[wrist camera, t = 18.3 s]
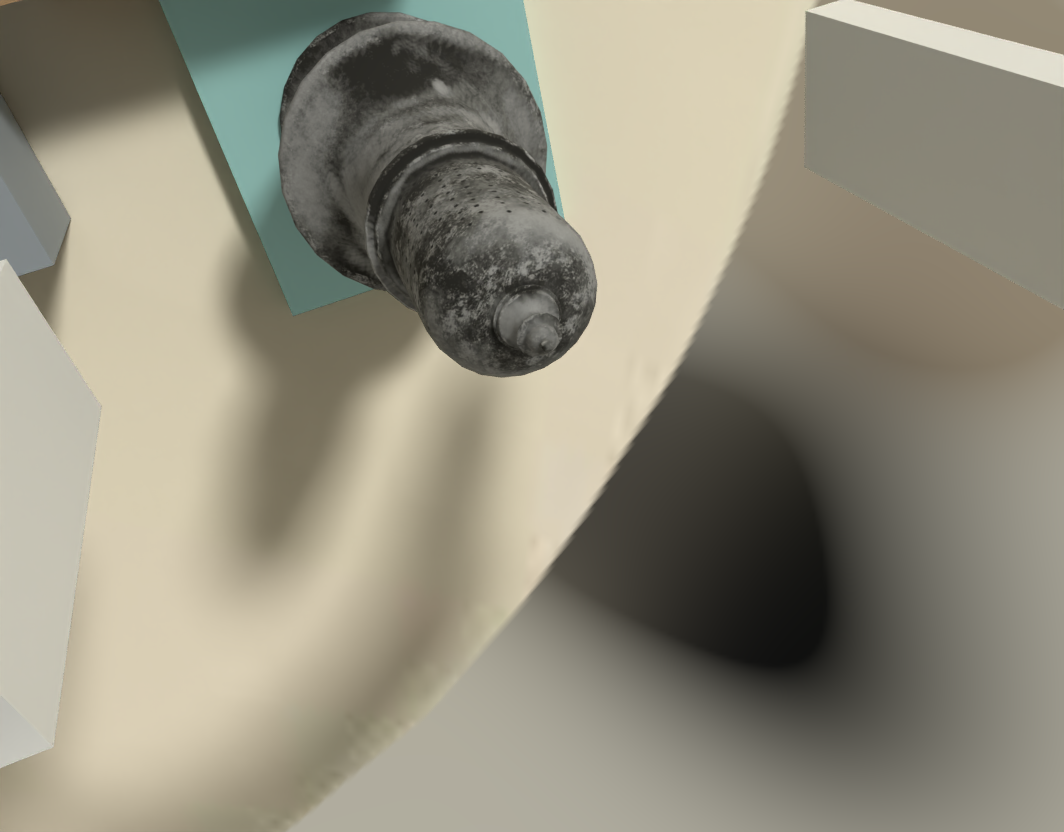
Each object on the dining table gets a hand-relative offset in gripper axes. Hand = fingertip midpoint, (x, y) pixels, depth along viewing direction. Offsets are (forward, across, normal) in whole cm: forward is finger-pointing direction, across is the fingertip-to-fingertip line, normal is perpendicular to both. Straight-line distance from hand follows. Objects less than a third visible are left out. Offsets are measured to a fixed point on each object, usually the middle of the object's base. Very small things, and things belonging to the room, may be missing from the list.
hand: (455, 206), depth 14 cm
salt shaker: (+9, 0, -1) cm, 9 cm away
